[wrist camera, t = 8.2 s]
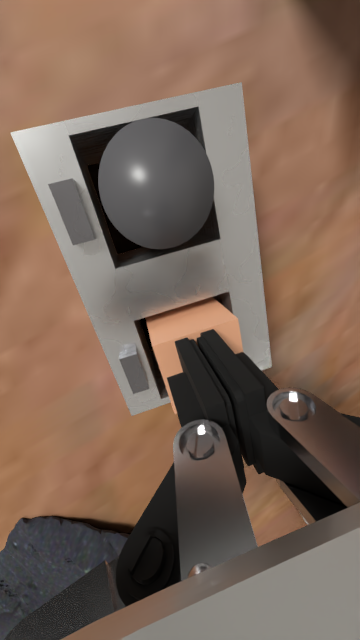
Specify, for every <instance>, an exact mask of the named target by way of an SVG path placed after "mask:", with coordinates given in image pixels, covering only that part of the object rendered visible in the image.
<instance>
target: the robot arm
mask: <svg viewBox="0 0 360 640" xmlns="http://www.w3.org/2000/svg"><path fill="white" fill-rule="evenodd" d="M200 336H201V337H198V338H197V343H198V346H197V344H196V343H195V341H194V339H192V340H189V339H188V338H184V339H180V340H177V341H175V346H176V349H177V353H178V356H179V360H180V363H181V367H182V370H183V372H182V373H179V374H176V375H173V376H170V377H167V381H168V384H169V387H170V391H171V394H172V397H173V401H174V404H175V407H176V411H177V414H178V417H179V421H180V424H181V427H182V428H181V429H180V430H179V431H178V432H177V434H176V436H175V439H174V444H173V452H174V463H173V465H172V466H171V468H170V470H169V471H168V473H167V475H166V476H165V478H164V480H163V481H162V483H161V484H160V486H159V488H158V489H157V491H156V493H155V494H154V496H153V498H152V499H151V501H150V503H149V504H148V506H147V508H146V509H145V511H144V513H143V514H142V516H141V517H140V519H139V521H138V522H137V524H136V526H135V527H134V529H133V531H132V532H131V534H130V536H129V537H128V539H127V541H126V542H125V544H124V546H123V548H122V550H121V553H120V555H119V556H118V557H116V558H115V559H114V560H112V561H111V562H109V563H107V562H106V560H105V561H103V562H102V563H100V564H99V565H98V566H96V567H95V568H93V569H92V570H91V571H89V572H88V573H86V574H85V575H84V576H82V577H81V578H79V579H78V580H77V581H75V582H74V583H72V584H71V585H70V586H68V587H67V588H66V589H64V590H63V591H61V592H60V593H59V594H57V595H56V596H54V597H53V598H52V599H50V600H49V601H47V602H46V603H45V604H43V605H42V606H40V607H39V608H38V609H36V610H35V611H33V612H32V613H31V614H29V615H28V616H26V617H25V618H24V619H22V620H21V621H20V622H19V623H18V624H17V625H16V626H15V627H14V628H13V629H12V630H11V631H10V632H9V633H8V634H7V636H6V637H5V639H4V640H360V418H359V417H355V416H350V415H345V414H341V413H339V412H337V411H336V410H335V409H333V408H332V407H330V406H329V405H327V404H326V403H325V402H323V401H322V400H320V399H319V398H317V397H316V396H315V395H313V394H311V393H309V392H308V391H306V390H302V389H299V388H282V389H280V390H279V389H278V388H277V387H276V386H275V385H274V384H273V383H272V382H271V380H270V379H269V378H268V377H267V376H266V375H265V374H264V373H263V372H262V371H261V370H260V369H259V368H258V367H257V366H256V364H255V363H254V362H253V361H252V360H251V359H250V358H249V357H248V356H247V355H246V354H245V353H244V352H240V353H237V354H235V353H234V352H233V351H232V350H231V349H230V347H229V346H228V345H227V344H226V343H225V342H224V340H223V339H222V338H221V337H220V336H219V335H218V333H217V332H216V331H215V330H214V329H211V330H208V331H205V332H202V333H200ZM241 454H242V455H241ZM242 456H243V458H244V460H245V462H246V464H247V465H248V466H250V465H254V467H255V469H256V471H257V472H258V474H261V473H263V472H265V474H266V475H268V476H271V477H273V478H276V481H277V483H278V484H279V486H280V488H281V489H282V490H283V492H284V493H285V494H286V495H287V497H288V498H289V499H290V501H291V502H292V503H293V504H294V506H295V507H296V508H297V509H298V511H299V513H300V514H301V516H302V518H303V519H304V521H305V522H306V523H307V524H308V525H307V526H305V527H303V528H301V529H298V530H296V531H294V532H291V533H289V534H287V535H285V536H282V537H280V538H278V539H275V540H273V541H271V542H269V543H266V544H264V545H262V546H260V547H258V546H257V543H256V539H255V536H254V533H253V529H252V526H251V522H250V519H249V515H248V512H247V509H246V505H245V502H244V498H243V495H242V494H243V491H244V488H245V485H246V478H245V473H244V465H243V460H242Z"/></svg>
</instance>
